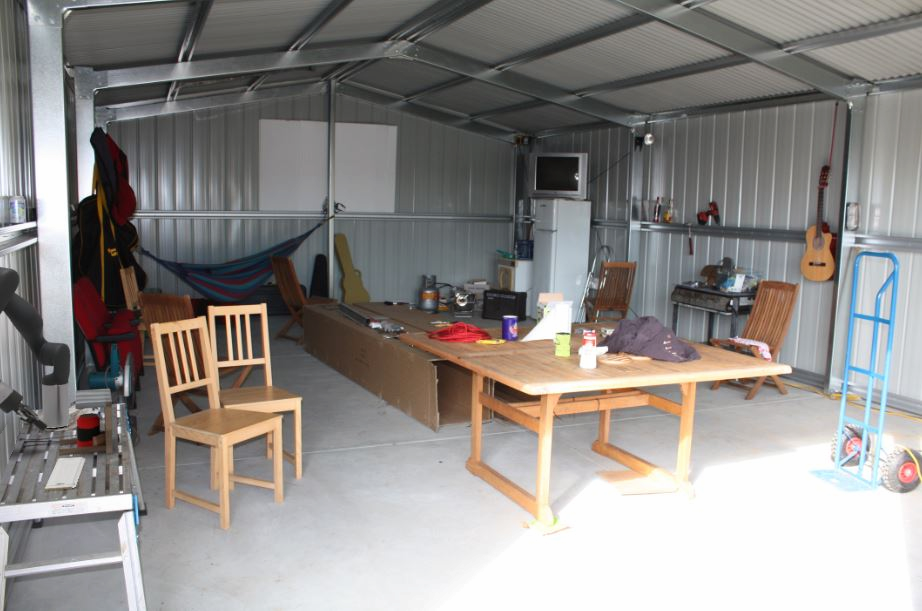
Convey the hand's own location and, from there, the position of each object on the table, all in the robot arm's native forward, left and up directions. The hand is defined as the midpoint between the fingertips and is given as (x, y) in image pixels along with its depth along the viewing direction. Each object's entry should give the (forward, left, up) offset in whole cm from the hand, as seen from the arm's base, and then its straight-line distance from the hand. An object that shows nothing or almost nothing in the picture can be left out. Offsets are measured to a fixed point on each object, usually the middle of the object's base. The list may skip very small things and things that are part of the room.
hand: (45, 428), depth 276 cm
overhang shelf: (-5, +13, -8) cm, 16 cm away
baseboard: (+24, +17, -9) cm, 31 cm away
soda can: (-5, +13, -9) cm, 16 cm away
